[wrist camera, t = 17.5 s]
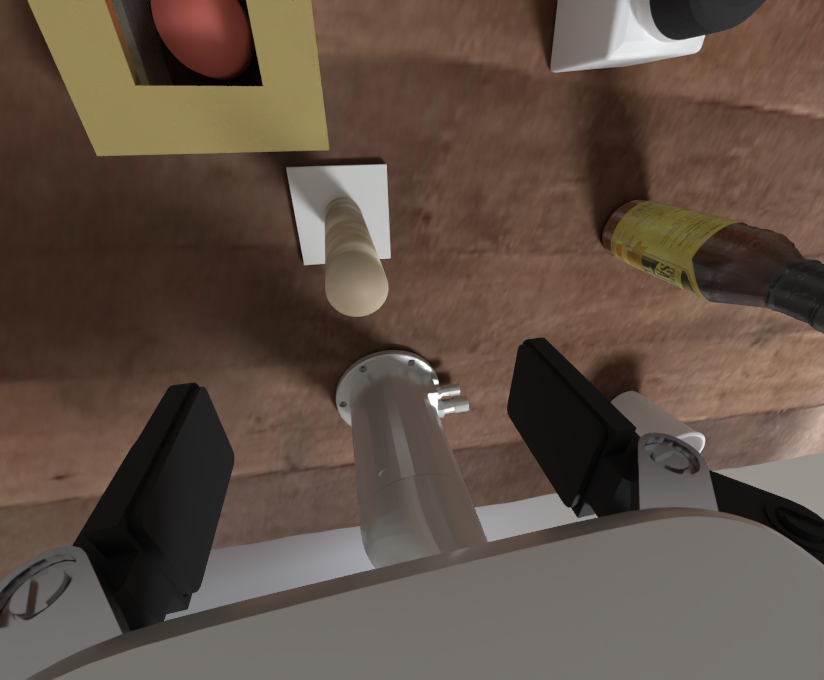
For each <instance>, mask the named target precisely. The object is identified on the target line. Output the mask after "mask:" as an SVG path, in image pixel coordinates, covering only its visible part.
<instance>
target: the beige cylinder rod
mask: <svg viewBox="0 0 824 680" xmlns="http://www.w3.org/2000/svg"><path fill="white" fill-rule="evenodd" d="M325 290H326V296H327V298H328V301H329V302H330V304H331V305H332V306H333V307H334V308H335V309H336V310H337V311H339V312H340V313H342V314H345V315H348V316H353V317H360V316H365V315H369V314H371V313H373V312H375V311H376V310H377V309H379V308H380V307H381V306H382V304H383V303H384V301H385V300H386V297H387V294H388V281H387V278H386V275H385V273H384V270H383V267H382V265H381V262H380V260H379V257H378V254H377V252H376V249H375V246H374V244H373V241H372V239H371V236H370V233H369V231H368V228H367V226H366V223H365V220H364V218H363V215H362V212H361V210H360V208H359V206H358V205H357V204H356V203H355V202H354V201H353V200H351V199H349V198H345V197H340V198H336V199H334V200H332V201H331V202H330V203H329V204H328V205H327V207H326V210H325Z"/></svg>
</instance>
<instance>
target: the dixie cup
mask: <svg viewBox="0 0 824 680" xmlns="http://www.w3.org/2000/svg"><path fill="white" fill-rule="evenodd" d="M611 403H612V404H613V405H614V406H615V407H616V408H617V409H618V410H619V411H620V412H621V413H622V414H623V415H624V416H625V417H626V418H627V419H628V420H629V421H630V422H631V423H632V424H633V425H634V426H635V427H636V430H635V432H636V433H637V434H638V435H639V436H640V437H642V436H643V435H644V434H647V433H663V434H668V435H671V436H674V437H676V438H679V439H681V440H682V441H684V442H686V443H688V444H690V445H691V446H692V447H693V448H695V449H696V450H697V451H698V452H699V453H700V452H701V451H702V449H703V447H704V445H705V437H704V435H703V434H701V433H699V432H696V431H694V430H693V429H691V428H690V427H688V426H687V425H685V424H684V423H682V422H681V421H679V420H678V419H676V418H675V417H673V416H672V415H670V414H669V413H667V412H666V411H664V410H663V409H661V408H660V407H658V406H657V405H655V404H654V403H652V402H651V401H649V400H648V399H646V398H645V397H643V396H642V395H640V394H639V393H637V392H636V391H627V392H624V393H622V394H620V395H618V396H617V397H616V398H614V399H613V400H612V401H611Z"/></svg>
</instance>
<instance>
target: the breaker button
mask: <svg viewBox="0 0 824 680" xmlns="http://www.w3.org/2000/svg"><path fill="white" fill-rule="evenodd" d="M151 9H152V15H153V19H154V22H155V25H156V28H157V30H158V32H159V34H160V37H161V38H162V40H163V42H164V43H165V45H166V46H167V48H168V49H169V50H170V51H171V53H172V54H173V55H174V56H175V57H176V58H177V59H178V60H179V61H180V62H182V63H183V64H184V65H185V66H187V67H188V68H190V69H192V70H194V71H196V72H198V73H200V74H203V75H205V76H208V77H210V78H213V79H217V80H231V79H234V78H237V77H239V76H240V75H242V74H243V73H244V72H245V71H246V70H247V68H248V67H249V65H250V63H251V60H252V58H253V53H254V38H253V33H252V28H251V24H250V21H249V19H248V17H247V15H246V13H245V11H244V9H243V7H242V6H241V5H240V3H239V2H238V0H151Z"/></svg>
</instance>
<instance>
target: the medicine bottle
mask: <svg viewBox="0 0 824 680" xmlns="http://www.w3.org/2000/svg"><path fill="white" fill-rule="evenodd" d="M764 1H765V0H558V2H557V11H556V20H555V29H554V38H553V47H552V56H551V65H550V70H551V71H552V72H566V71H578V70H589V69H601V68H613V67H625V66H630V65H636V64H641V63H646V62H652V61H657V60H662V59H668V58H673V57H678V56H684V55H689V54H694V53H696V52H698V51H699V50H700V49H701V47H702V44H703V41H704V37H705V35H707V34H711V33H715V32H720V31H724V30H727V29H730V28H733V27H735V26H737V25H739V24H740V23H742V22H743V21H745V20H746V19H747V18H748V17H750V16H751V15H752V14H753V13H754V12H755V11H756V10H757V9H758V8H759V7H760V6H761V5H762V4H763V3H764Z"/></svg>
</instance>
